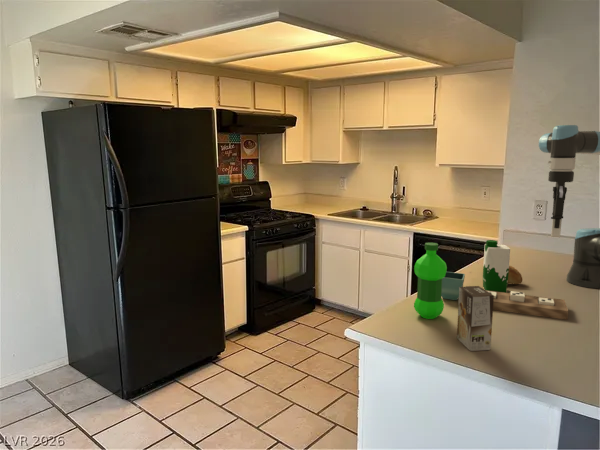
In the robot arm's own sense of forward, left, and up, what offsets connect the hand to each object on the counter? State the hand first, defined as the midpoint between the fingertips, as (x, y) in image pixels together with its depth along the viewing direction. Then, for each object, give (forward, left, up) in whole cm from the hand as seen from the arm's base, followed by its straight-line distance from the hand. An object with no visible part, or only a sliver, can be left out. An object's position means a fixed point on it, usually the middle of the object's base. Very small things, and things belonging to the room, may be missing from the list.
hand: (555, 236), depth 156 cm
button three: (+15, +4, -23) cm, 28 cm away
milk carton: (+13, -15, -25) cm, 32 cm away
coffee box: (+44, +31, -25) cm, 59 cm away
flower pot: (+34, -8, -25) cm, 43 cm away
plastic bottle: (+49, +9, -25) cm, 56 cm away
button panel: (+15, +4, -24) cm, 29 cm away
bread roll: (+5, -24, -25) cm, 35 cm away
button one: (+23, 0, -24) cm, 33 cm away
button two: (+7, +8, -24) cm, 26 cm away
